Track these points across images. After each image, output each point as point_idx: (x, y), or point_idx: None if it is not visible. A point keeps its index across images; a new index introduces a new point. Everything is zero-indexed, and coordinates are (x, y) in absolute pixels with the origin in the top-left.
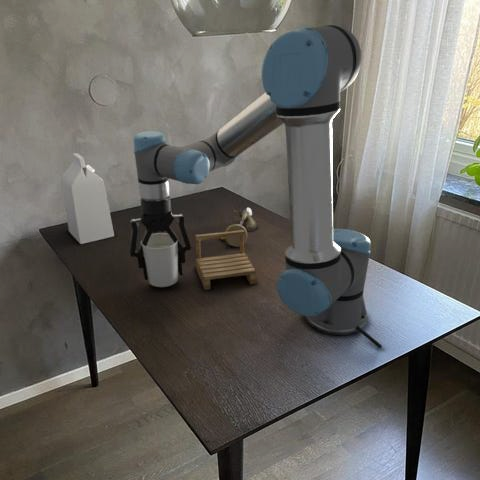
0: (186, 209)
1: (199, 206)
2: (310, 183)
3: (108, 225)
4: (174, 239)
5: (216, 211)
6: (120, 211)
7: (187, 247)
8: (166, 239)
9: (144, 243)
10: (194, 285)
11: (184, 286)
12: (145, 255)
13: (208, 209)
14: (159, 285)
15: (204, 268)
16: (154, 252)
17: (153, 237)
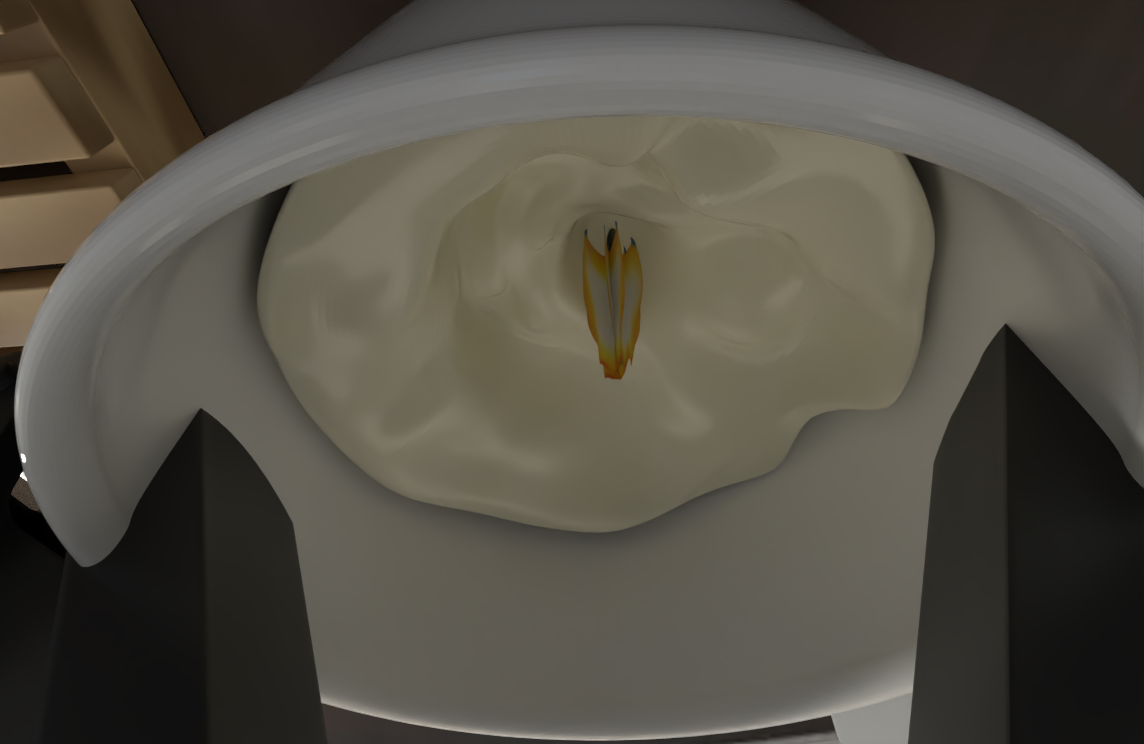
0: (472, 733)
1: (422, 740)
2: None
3: (852, 711)
4: (142, 596)
5: (344, 719)
6: (734, 741)
7: (10, 395)
8: (481, 611)
9: (1118, 524)
10: (245, 37)
11: (355, 30)
12: (984, 217)
13: (381, 728)
14: None
15: (66, 190)
16: (867, 45)
17: (692, 664)
